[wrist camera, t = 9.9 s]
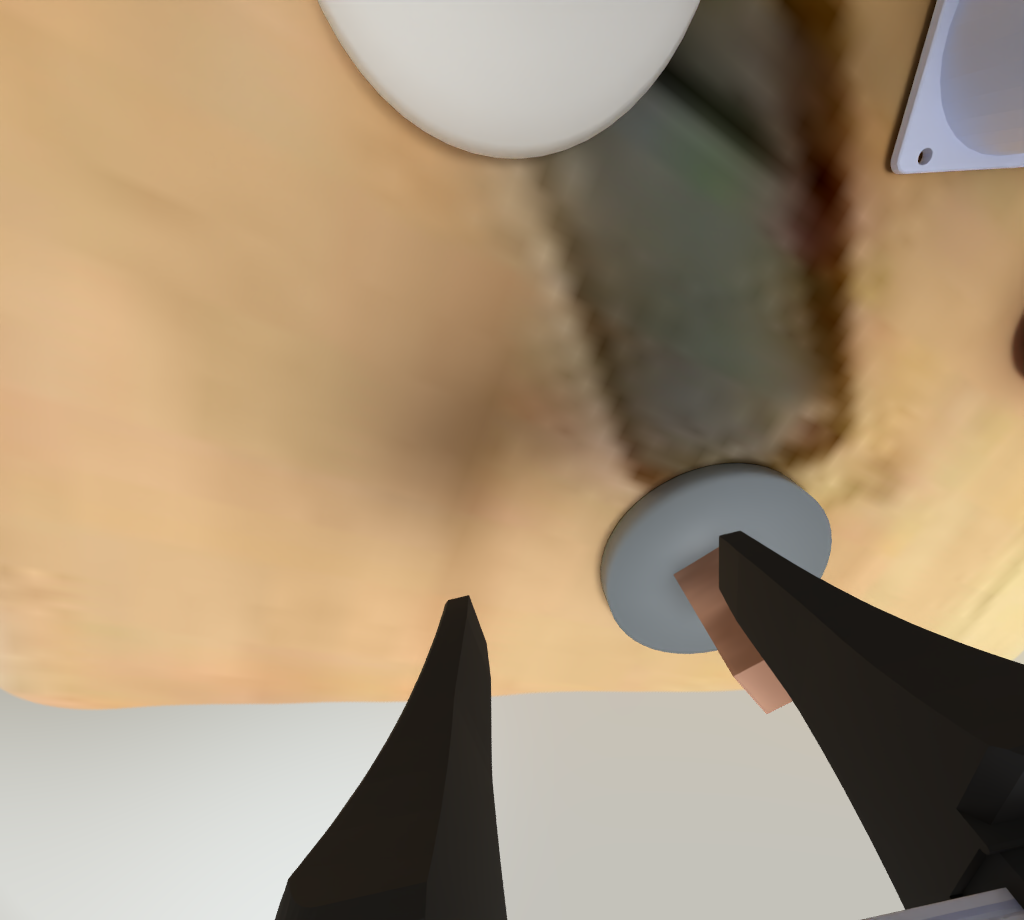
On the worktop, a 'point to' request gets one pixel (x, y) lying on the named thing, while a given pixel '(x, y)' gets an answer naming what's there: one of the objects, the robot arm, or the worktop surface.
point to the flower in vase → (511, 64)
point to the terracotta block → (729, 633)
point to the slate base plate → (702, 545)
